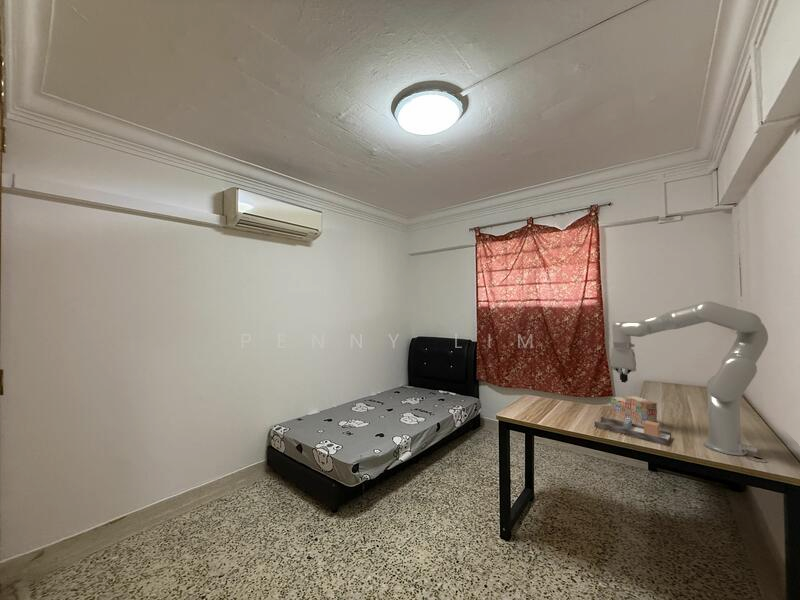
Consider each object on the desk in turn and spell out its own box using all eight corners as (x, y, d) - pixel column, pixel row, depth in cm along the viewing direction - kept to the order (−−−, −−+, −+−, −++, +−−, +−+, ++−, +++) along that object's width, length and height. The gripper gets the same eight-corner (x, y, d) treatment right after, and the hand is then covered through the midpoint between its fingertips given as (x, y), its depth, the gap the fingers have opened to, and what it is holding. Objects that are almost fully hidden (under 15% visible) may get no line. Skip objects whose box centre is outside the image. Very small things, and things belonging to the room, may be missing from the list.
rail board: (671, 438, 143) (671, 432, 143) (667, 446, 135) (666, 439, 135) (601, 421, 164) (601, 416, 164) (594, 427, 156) (594, 421, 156)
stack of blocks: (610, 413, 178) (610, 392, 178) (619, 412, 179) (619, 391, 180) (647, 427, 157) (647, 403, 158) (657, 426, 159) (657, 402, 159)
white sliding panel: (670, 437, 142) (670, 428, 143) (667, 442, 137) (667, 433, 137) (628, 426, 154) (628, 418, 154) (623, 431, 148) (623, 423, 149)
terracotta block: (659, 434, 144) (659, 423, 144) (657, 436, 140) (657, 425, 141) (646, 430, 148) (646, 420, 148) (643, 433, 144) (643, 422, 144)
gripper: (641, 346, 156) (643, 382, 155) (606, 344, 167) (608, 378, 166) (638, 347, 151) (640, 385, 150) (603, 345, 161) (605, 381, 160)
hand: (624, 381), depth 158 cm, fingers closed
